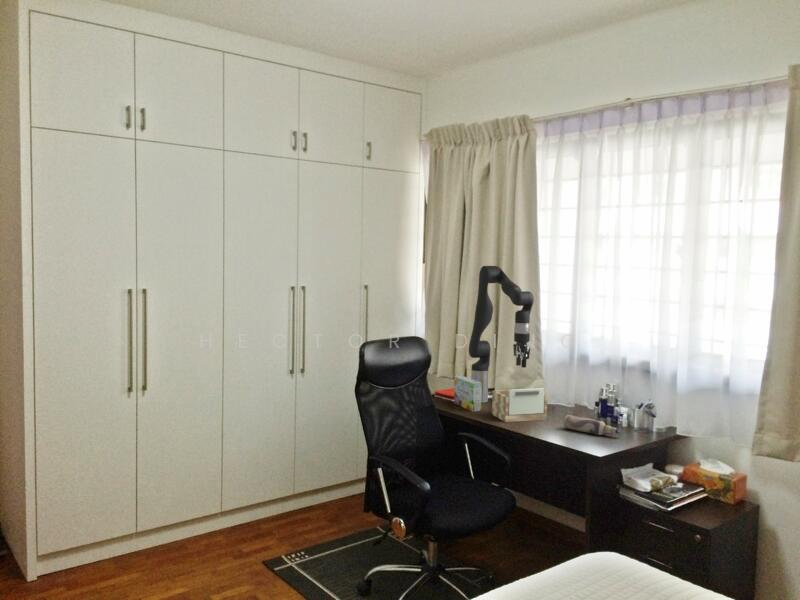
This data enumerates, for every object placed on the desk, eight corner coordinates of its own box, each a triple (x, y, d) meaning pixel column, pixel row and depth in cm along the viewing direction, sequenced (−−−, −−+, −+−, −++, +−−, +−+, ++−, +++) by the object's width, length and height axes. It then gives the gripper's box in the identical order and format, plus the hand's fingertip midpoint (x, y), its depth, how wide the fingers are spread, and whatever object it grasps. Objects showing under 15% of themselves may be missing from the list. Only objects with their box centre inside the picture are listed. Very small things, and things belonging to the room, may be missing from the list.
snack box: (453, 403, 361) (453, 375, 360) (462, 402, 363) (462, 375, 363) (472, 412, 342) (473, 382, 341) (482, 411, 344) (482, 382, 343)
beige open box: (491, 414, 338) (492, 390, 337) (531, 412, 344) (532, 388, 343) (505, 421, 322) (506, 397, 322) (546, 419, 329) (547, 395, 328)
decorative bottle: (562, 430, 309) (562, 415, 309) (569, 427, 315) (570, 413, 315) (616, 440, 293) (616, 425, 292) (623, 437, 298) (623, 422, 298)
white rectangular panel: (507, 414, 324) (508, 389, 323) (542, 412, 329) (542, 388, 328) (509, 415, 322) (510, 390, 321) (544, 413, 327) (544, 388, 326)
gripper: (508, 330, 335) (507, 364, 336) (521, 333, 322) (520, 369, 323) (522, 330, 337) (521, 363, 338) (535, 333, 324) (534, 368, 325)
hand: (521, 366), depth 331 cm, fingers open, 5 cm apart
